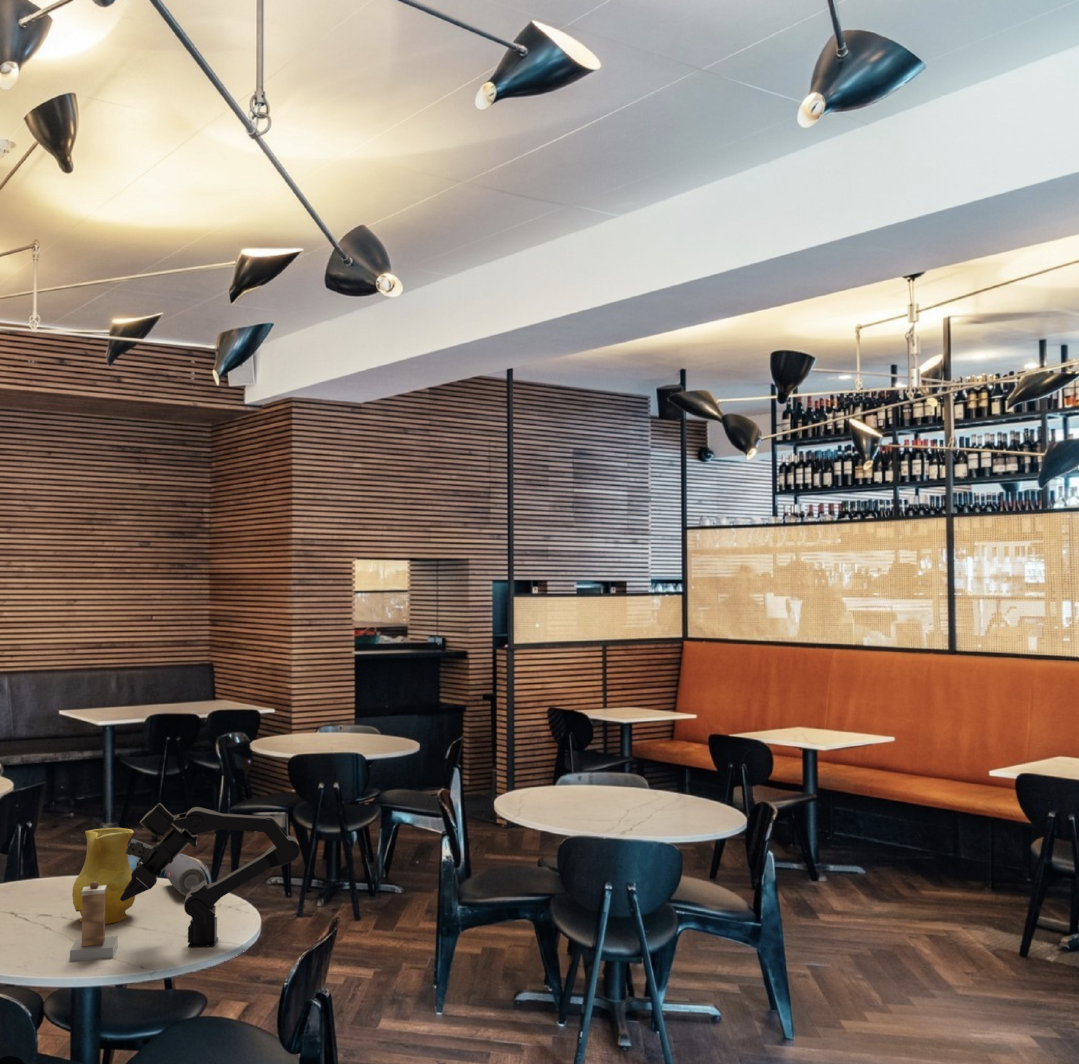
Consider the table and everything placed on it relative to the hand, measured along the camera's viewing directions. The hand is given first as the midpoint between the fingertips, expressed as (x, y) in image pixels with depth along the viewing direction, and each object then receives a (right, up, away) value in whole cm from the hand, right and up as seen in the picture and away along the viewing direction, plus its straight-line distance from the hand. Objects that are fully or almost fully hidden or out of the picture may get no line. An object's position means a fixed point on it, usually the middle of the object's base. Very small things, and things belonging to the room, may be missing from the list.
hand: (123, 895), depth 282 cm
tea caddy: (-6, -11, -3) cm, 13 cm away
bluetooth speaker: (-3, -18, +57) cm, 59 cm away
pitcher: (-15, -16, +28) cm, 36 cm away
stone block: (-6, -14, -3) cm, 16 cm away
